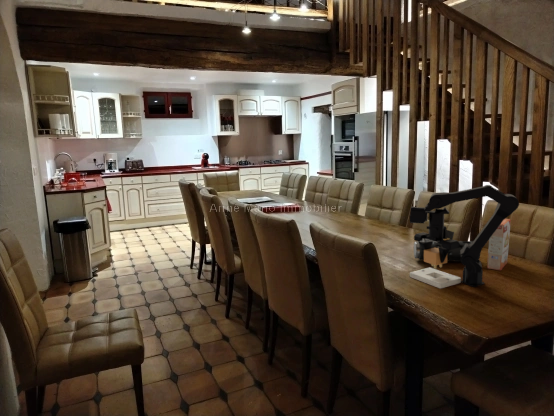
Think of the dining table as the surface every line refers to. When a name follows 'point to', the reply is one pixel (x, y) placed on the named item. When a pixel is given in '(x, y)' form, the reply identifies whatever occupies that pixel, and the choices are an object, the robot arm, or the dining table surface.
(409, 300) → the dining table surface
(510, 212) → the robot arm
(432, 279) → the socket plate
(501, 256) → the cracker box
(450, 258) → the muzzle brake
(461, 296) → the dining table surface
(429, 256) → the plug
